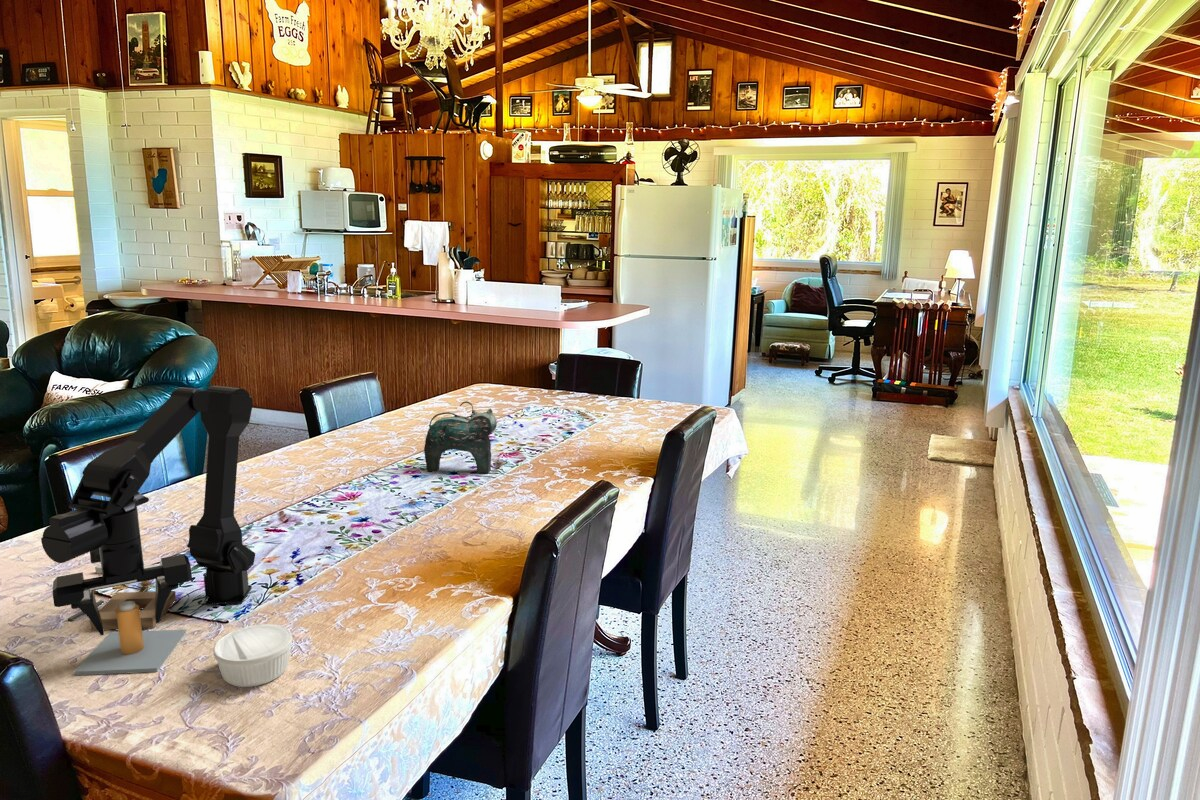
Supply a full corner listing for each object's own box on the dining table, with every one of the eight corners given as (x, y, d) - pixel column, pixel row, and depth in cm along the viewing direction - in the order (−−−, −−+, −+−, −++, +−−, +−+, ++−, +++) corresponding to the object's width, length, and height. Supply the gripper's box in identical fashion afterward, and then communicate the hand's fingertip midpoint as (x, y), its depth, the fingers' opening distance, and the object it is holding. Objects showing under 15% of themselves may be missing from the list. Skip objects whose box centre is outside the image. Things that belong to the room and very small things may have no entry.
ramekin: (199, 682, 124) (196, 651, 122) (254, 647, 134) (252, 618, 133) (257, 699, 120) (254, 667, 119) (308, 661, 130) (307, 631, 129)
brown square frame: (176, 600, 148) (175, 590, 148) (153, 628, 139) (152, 617, 138) (118, 602, 147) (116, 592, 147) (91, 630, 138) (89, 619, 137)
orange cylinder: (147, 643, 133) (141, 599, 131) (138, 654, 130) (133, 608, 128) (126, 644, 132) (120, 599, 130) (117, 655, 129) (111, 609, 127)
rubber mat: (185, 632, 138) (185, 629, 137) (157, 671, 126) (156, 668, 126) (110, 635, 136) (110, 632, 136) (74, 675, 124) (74, 671, 124)
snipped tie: (100, 602, 147) (100, 600, 147) (104, 602, 147) (104, 600, 147) (67, 620, 141) (67, 618, 140) (71, 621, 140) (71, 619, 140)
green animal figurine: (497, 469, 228) (497, 400, 223) (492, 476, 222) (492, 405, 217) (429, 465, 230) (427, 397, 225) (421, 472, 224) (420, 402, 219)
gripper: (180, 510, 138) (189, 594, 142) (49, 531, 128) (62, 620, 132) (187, 533, 129) (196, 622, 132) (46, 556, 119) (60, 652, 123)
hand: (130, 628), depth 130 cm, fingers open, 7 cm apart
